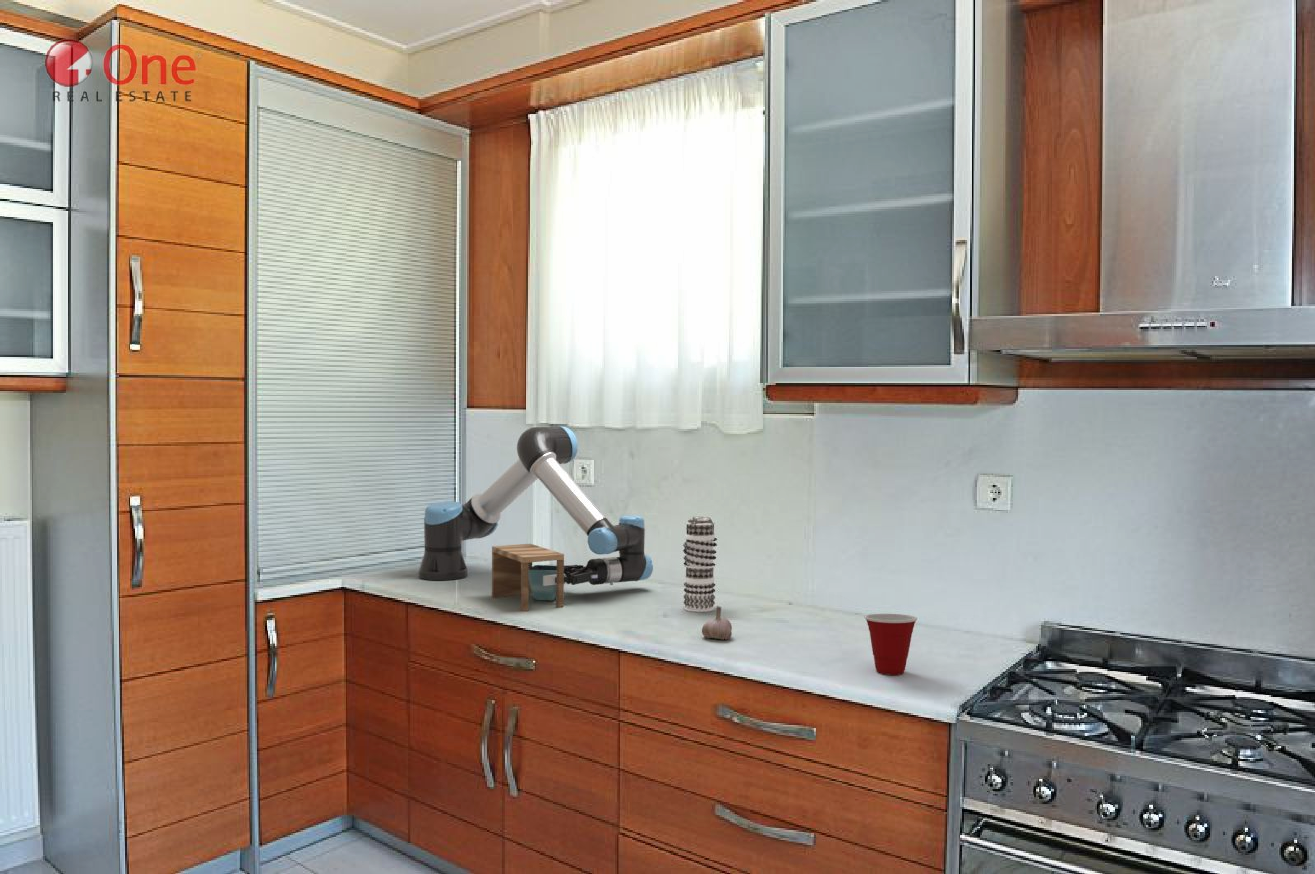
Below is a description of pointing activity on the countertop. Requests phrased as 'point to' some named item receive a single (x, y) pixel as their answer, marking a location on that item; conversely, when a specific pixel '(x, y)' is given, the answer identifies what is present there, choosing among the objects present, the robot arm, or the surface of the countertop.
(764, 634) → the countertop surface
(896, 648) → the plastic cup
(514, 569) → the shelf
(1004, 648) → the countertop surface
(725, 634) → the garlic bulb
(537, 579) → the flower pot
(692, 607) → the decorative candle
